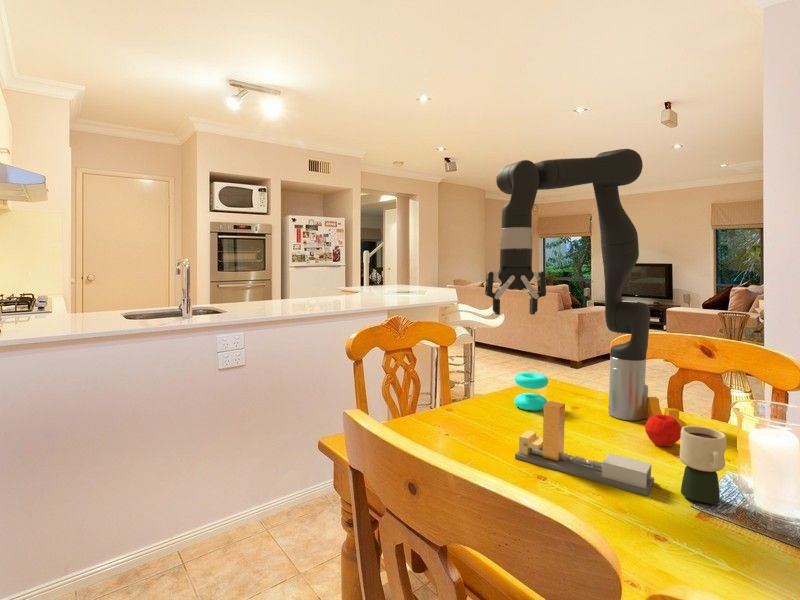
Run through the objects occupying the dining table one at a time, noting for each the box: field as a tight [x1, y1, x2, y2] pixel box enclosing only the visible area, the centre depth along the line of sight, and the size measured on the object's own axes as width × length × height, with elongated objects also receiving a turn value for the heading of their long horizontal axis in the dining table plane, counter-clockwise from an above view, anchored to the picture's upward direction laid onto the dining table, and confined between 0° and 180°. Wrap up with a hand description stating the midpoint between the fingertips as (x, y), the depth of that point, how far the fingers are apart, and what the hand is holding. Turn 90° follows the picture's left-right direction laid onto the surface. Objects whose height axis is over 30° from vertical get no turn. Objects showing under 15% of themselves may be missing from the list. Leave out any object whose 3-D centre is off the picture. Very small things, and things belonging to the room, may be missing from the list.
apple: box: [644, 414, 682, 447], centre depth 111 cm, size 8×8×7 cm
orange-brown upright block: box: [532, 400, 603, 470], centre depth 99 cm, size 16×4×12 cm, turn 51°
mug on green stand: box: [679, 425, 728, 505], centre depth 85 cm, size 11×7×13 cm, turn 172°
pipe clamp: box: [646, 396, 687, 428], centre depth 124 cm, size 12×4×6 cm, turn 177°
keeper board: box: [514, 429, 655, 497], centre depth 98 cm, size 27×7×5 cm, turn 51°
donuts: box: [513, 371, 549, 412], centre depth 140 cm, size 10×10×10 cm
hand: (514, 314), depth 110 cm, fingers open, 8 cm apart
